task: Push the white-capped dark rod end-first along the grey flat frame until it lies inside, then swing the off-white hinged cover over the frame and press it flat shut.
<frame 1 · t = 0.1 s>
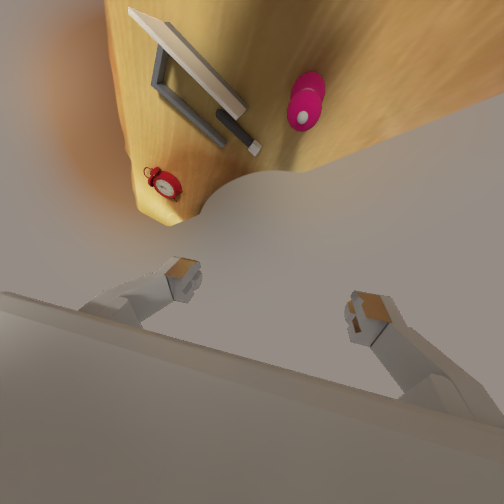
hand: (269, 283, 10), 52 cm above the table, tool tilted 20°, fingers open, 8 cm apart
duct cover: (199, 71, 37), point 9 cm above the table, hinge at 100.0°, touching grey flat frame
alarm clock: (166, 180, 73), on the table
grey flat frame: (202, 94, 47), on the table
white-capped dark rod: (236, 127, 51), on the table
pepper mill: (308, 90, 42), on the table
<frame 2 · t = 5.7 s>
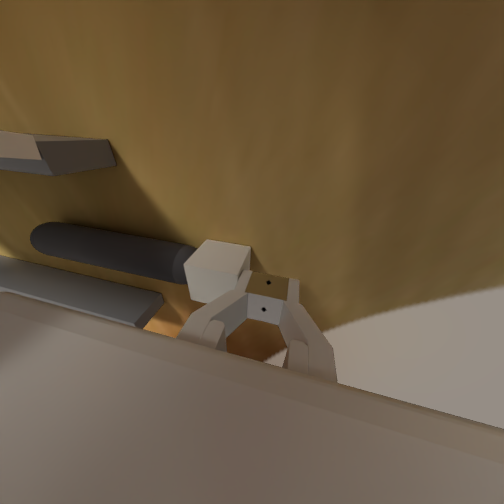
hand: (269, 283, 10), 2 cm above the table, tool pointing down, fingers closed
grey flat frame: (25, 221, 14), on the table
white-capped dark rod: (130, 241, 13), on the table, touching gripper
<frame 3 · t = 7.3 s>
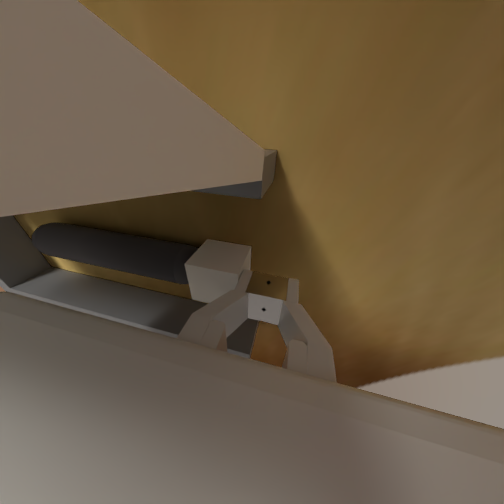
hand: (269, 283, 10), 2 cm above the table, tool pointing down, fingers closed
grey flat frame: (115, 237, 13), on the table
white-capped dark rod: (131, 242, 13), resting in grey flat frame, touching gripper
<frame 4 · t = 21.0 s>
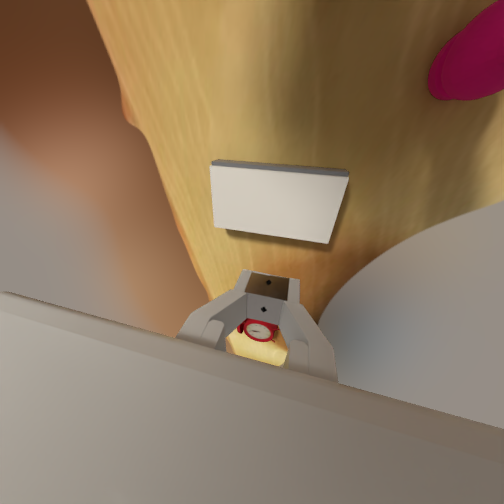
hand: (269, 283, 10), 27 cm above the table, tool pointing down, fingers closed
duct cover: (271, 205, 31), point 4 cm above the table, hinge at 1.1°
alarm clock: (255, 318, 57), on the table
grey flat frame: (274, 199, 34), on the table
pepper mill: (460, 65, 21), on the table
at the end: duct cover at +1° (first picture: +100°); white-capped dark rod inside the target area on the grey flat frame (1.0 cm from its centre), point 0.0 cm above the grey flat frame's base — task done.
